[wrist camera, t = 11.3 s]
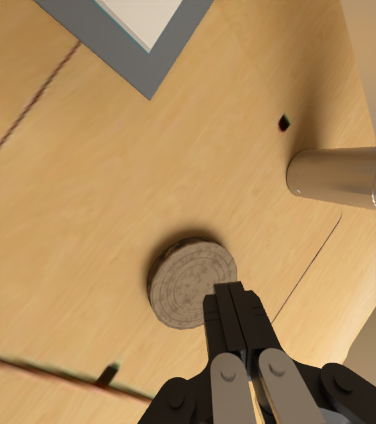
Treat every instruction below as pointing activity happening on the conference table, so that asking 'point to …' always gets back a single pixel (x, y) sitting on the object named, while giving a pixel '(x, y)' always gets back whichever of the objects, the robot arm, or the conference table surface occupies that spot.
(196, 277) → the brown round disc
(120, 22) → the tile
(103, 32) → the mat
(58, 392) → the conference table surface
